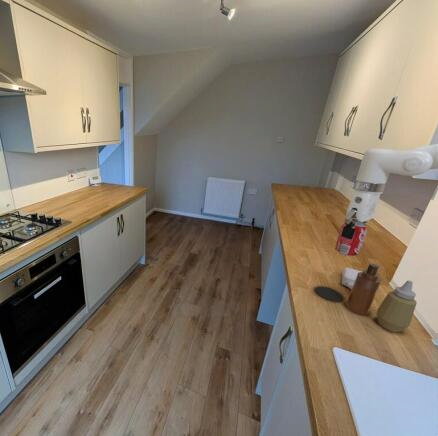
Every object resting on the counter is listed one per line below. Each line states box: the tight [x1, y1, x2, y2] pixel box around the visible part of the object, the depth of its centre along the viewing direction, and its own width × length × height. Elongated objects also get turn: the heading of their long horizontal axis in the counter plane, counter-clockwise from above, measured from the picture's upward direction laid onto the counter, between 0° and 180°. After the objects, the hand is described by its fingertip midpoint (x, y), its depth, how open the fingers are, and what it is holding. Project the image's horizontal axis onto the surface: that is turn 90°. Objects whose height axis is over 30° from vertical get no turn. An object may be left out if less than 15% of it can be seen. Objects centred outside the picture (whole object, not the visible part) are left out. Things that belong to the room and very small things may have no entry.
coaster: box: [315, 286, 344, 303], centre depth 96 cm, size 9×9×1 cm
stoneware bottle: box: [345, 262, 383, 316], centre depth 85 cm, size 6×6×19 cm
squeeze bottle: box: [376, 279, 417, 333], centre depth 78 cm, size 8×8×18 cm
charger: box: [341, 267, 363, 291], centre depth 100 cm, size 5×9×15 cm
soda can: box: [334, 221, 368, 257], centre depth 85 cm, size 7×7×12 cm
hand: (351, 235), depth 85 cm, fingers closed on soda can, 7 cm apart
